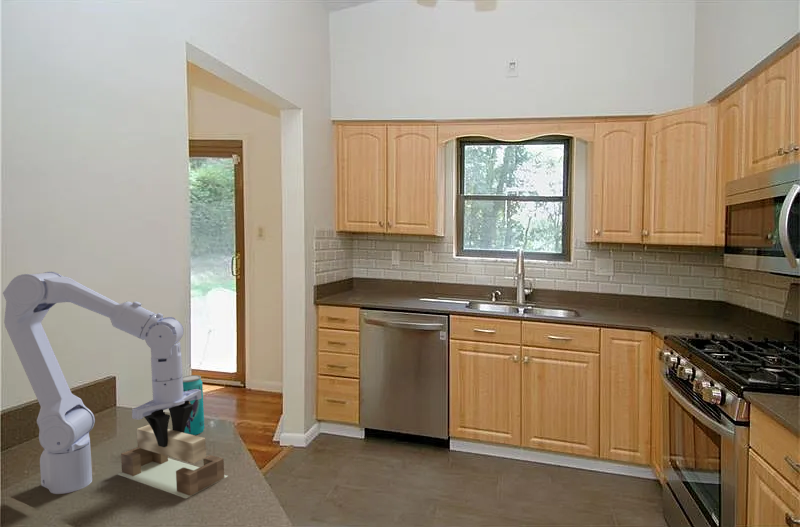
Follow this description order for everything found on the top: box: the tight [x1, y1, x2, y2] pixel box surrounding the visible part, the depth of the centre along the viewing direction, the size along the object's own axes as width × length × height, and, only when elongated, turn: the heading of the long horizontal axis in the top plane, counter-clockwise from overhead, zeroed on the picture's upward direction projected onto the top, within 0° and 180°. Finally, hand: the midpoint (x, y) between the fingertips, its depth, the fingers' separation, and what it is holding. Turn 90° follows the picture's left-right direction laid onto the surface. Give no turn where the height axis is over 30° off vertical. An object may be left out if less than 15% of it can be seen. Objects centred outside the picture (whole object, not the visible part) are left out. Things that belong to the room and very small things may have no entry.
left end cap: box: [120, 446, 169, 476], centre depth 108 cm, size 4×8×4 cm, turn 150°
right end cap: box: [176, 454, 225, 497], centre depth 99 cm, size 4×8×4 cm, turn 150°
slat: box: [136, 423, 207, 464], centre depth 103 cm, size 18×3×4 cm, turn 60°
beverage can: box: [183, 374, 205, 436], centre depth 127 cm, size 6×6×15 cm
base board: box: [116, 457, 229, 499], centre depth 103 cm, size 22×10×1 cm, turn 60°
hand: (170, 442), depth 103 cm, fingers closed on slat, 3 cm apart
